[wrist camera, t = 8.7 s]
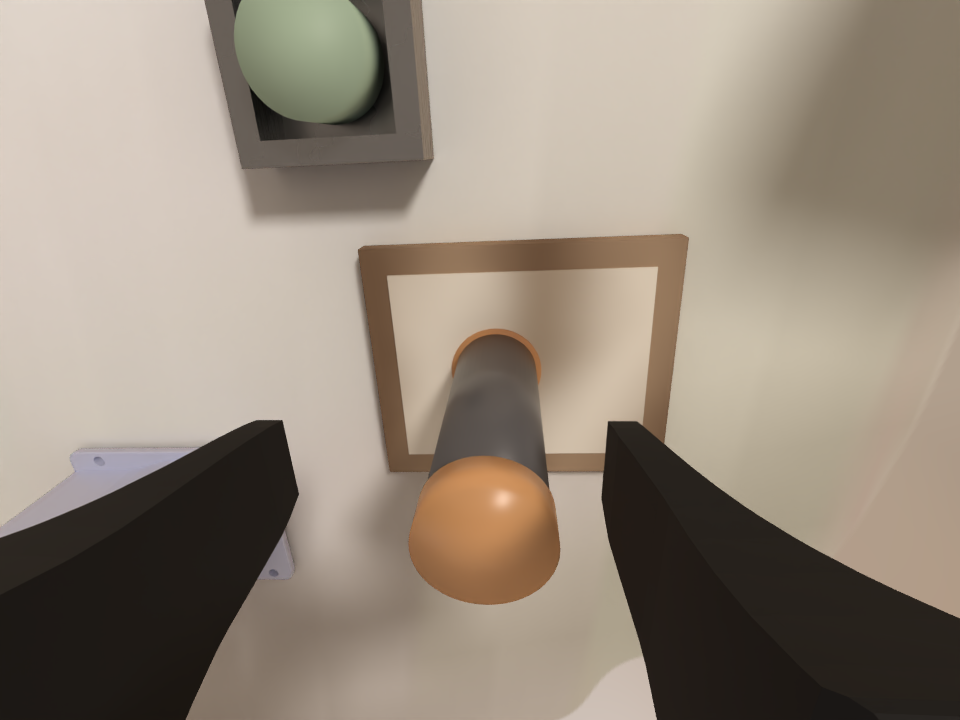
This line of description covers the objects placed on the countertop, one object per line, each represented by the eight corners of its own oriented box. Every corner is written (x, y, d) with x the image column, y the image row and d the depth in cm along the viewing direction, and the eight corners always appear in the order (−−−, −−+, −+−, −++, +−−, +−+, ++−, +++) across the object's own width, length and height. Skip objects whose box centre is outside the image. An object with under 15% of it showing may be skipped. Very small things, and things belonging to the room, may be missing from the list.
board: (393, 461, 23) (388, 474, 22) (363, 246, 19) (356, 251, 18) (655, 460, 22) (662, 473, 21) (681, 234, 18) (690, 238, 17)
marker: (457, 409, 20) (416, 603, 12) (451, 332, 19) (400, 488, 10) (538, 408, 20) (559, 606, 12) (538, 330, 19) (561, 489, 10)
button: (285, 127, 16) (251, 124, 14) (262, -2, 15) (219, -27, 13) (390, 122, 16) (371, 118, 14) (376, -10, 15) (352, -38, 13)
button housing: (272, 166, 18) (242, 168, 16) (231, -36, 16) (190, -63, 14) (434, 158, 18) (423, 159, 16) (417, -51, 15) (403, -81, 13)
